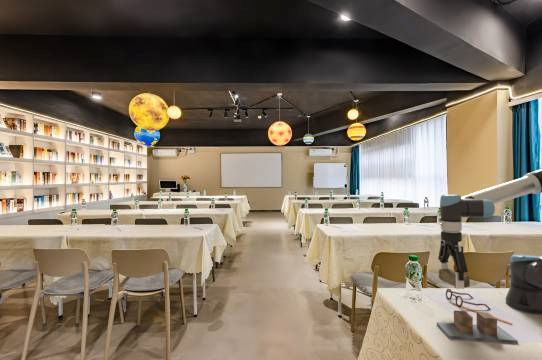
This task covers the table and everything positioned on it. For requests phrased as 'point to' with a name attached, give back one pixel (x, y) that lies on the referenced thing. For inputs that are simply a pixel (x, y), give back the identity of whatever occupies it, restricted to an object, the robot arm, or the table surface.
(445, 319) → the table surface
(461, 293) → the glasses
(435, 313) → the table surface
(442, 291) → the table surface
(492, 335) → the bridge base
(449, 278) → the stone block
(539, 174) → the robot arm
